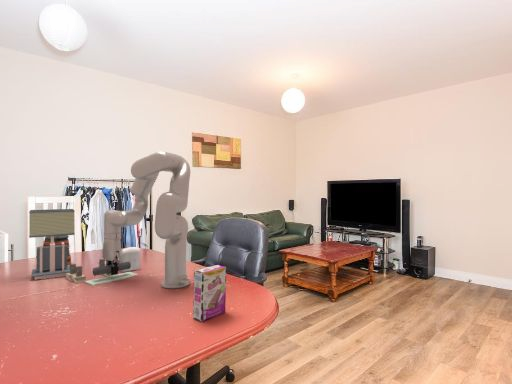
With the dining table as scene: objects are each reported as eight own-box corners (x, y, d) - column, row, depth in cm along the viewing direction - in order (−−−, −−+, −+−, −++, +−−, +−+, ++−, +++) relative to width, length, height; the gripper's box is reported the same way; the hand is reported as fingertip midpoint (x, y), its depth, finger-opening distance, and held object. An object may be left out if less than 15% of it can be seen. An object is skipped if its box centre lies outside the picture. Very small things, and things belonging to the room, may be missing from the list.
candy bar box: (202, 322, 101) (202, 272, 101) (192, 318, 105) (192, 270, 105) (226, 312, 110) (226, 266, 110) (216, 309, 113) (217, 264, 113)
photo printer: (138, 267, 171) (138, 245, 171) (141, 269, 168) (141, 246, 168) (119, 271, 164) (119, 247, 164) (122, 272, 161) (122, 249, 161)
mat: (137, 275, 156) (137, 274, 156) (92, 285, 139) (92, 284, 139) (129, 272, 161) (129, 271, 161) (84, 282, 144) (84, 281, 144)
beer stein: (39, 262, 182) (39, 228, 182) (68, 259, 191) (68, 226, 191) (41, 269, 167) (41, 232, 167) (72, 265, 176) (73, 230, 176)
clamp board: (114, 275, 157) (115, 261, 157) (76, 283, 143) (76, 268, 143) (103, 271, 164) (103, 257, 164) (66, 278, 150) (66, 264, 150)
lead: (127, 268, 158) (126, 261, 158) (131, 268, 156) (130, 261, 156) (92, 275, 145) (92, 267, 145) (96, 276, 142) (95, 268, 143)
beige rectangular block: (110, 270, 167) (110, 262, 167) (105, 271, 165) (105, 263, 165) (102, 267, 172) (102, 260, 172) (97, 268, 170) (97, 261, 170)
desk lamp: (72, 269, 167) (72, 208, 167) (74, 275, 155) (74, 210, 155) (30, 274, 157) (30, 209, 157) (29, 281, 145) (29, 211, 145)
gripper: (96, 235, 152) (96, 272, 152) (113, 238, 142) (113, 278, 142) (111, 233, 158) (111, 269, 158) (128, 237, 148) (128, 275, 148)
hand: (112, 273), depth 150 cm, fingers closed on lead, 3 cm apart
